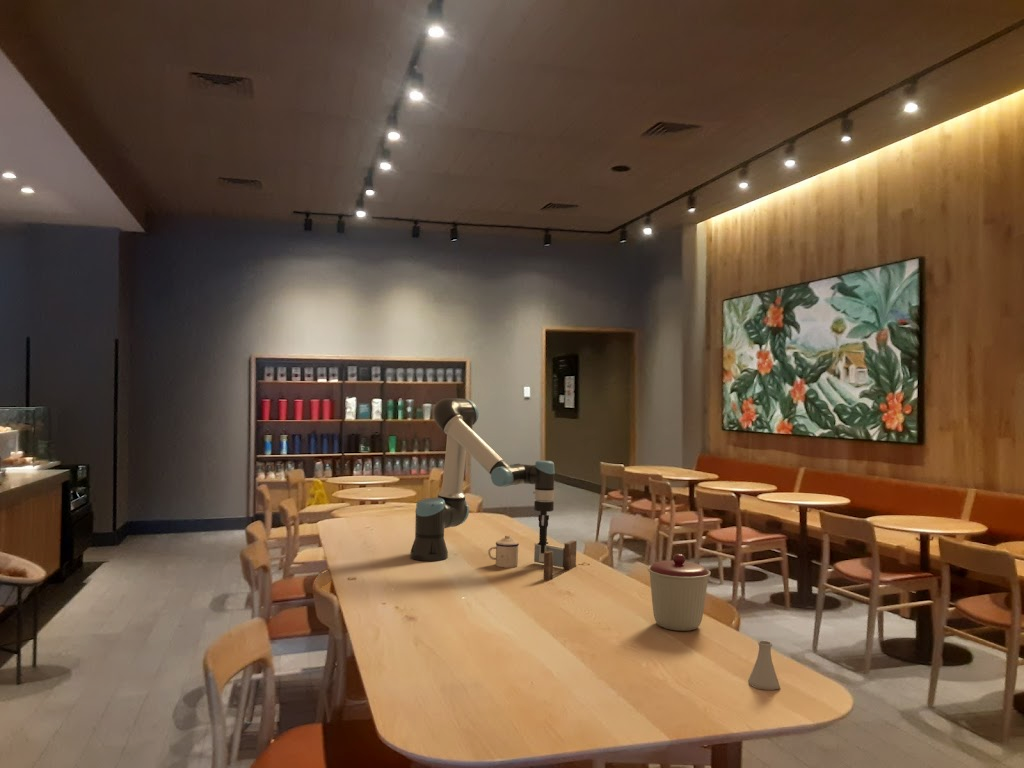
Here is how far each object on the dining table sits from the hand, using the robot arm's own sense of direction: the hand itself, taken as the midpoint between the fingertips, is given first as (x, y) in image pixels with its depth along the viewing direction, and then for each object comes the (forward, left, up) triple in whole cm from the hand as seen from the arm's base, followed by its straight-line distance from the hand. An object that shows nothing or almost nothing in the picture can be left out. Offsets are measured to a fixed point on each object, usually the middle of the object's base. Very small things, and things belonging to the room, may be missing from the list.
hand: (542, 561), depth 297 cm
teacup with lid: (-14, -6, -3) cm, 16 cm away
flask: (+94, -86, -3) cm, 127 cm away
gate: (+2, +3, -2) cm, 4 cm away
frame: (+10, -6, -2) cm, 11 cm away
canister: (+65, -50, -3) cm, 82 cm away
